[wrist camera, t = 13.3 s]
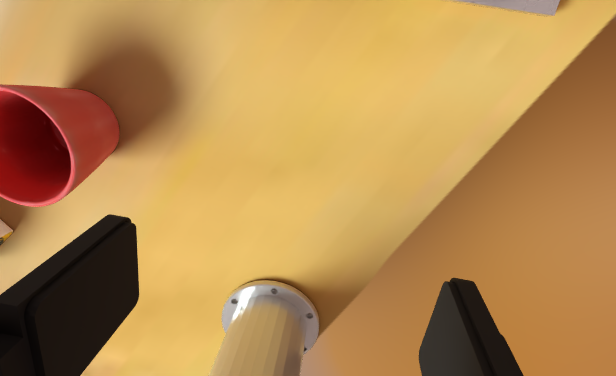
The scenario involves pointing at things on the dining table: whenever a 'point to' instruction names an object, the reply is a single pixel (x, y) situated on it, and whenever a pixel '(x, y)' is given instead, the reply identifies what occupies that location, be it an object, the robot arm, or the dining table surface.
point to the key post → (517, 5)
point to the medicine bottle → (4, 231)
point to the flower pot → (51, 141)
